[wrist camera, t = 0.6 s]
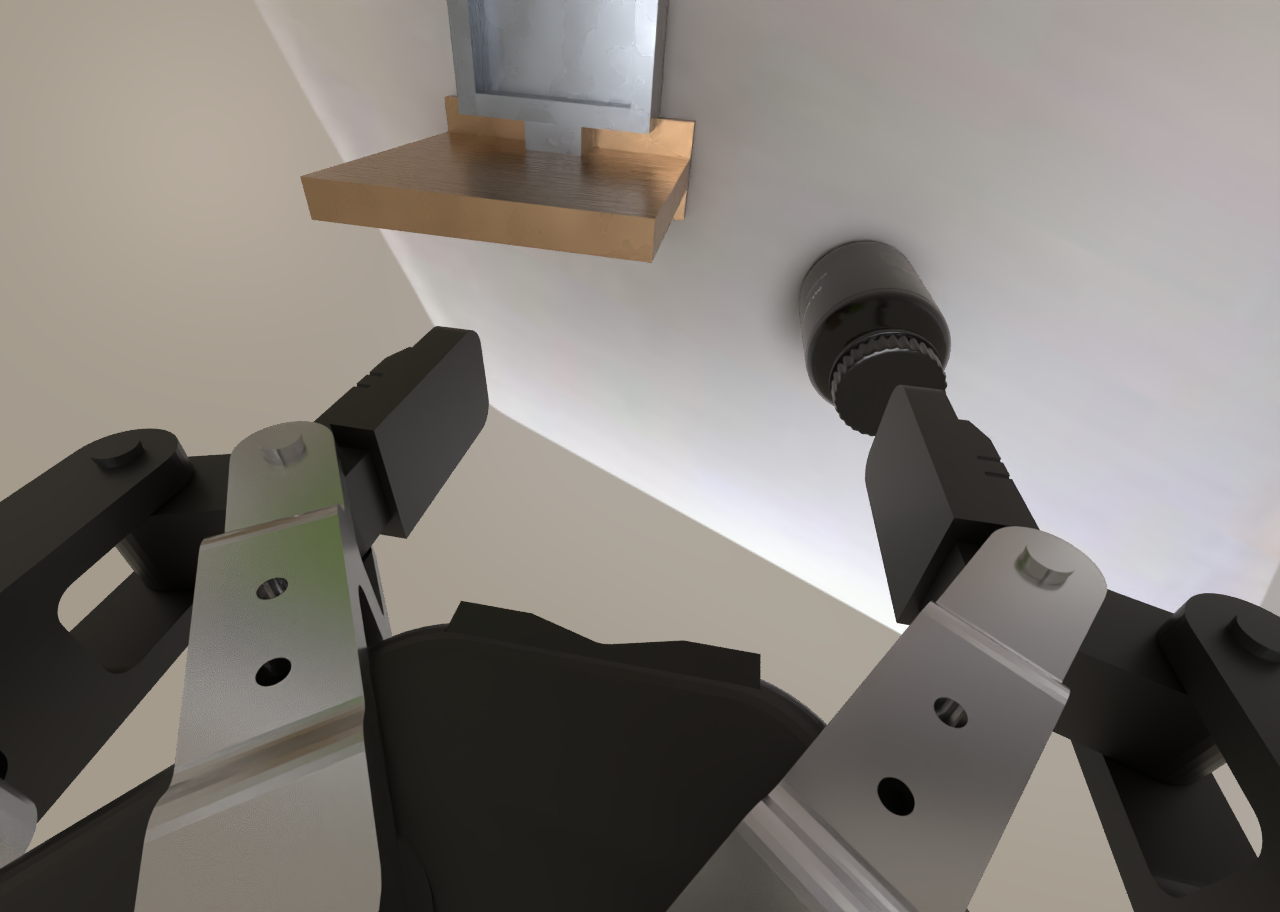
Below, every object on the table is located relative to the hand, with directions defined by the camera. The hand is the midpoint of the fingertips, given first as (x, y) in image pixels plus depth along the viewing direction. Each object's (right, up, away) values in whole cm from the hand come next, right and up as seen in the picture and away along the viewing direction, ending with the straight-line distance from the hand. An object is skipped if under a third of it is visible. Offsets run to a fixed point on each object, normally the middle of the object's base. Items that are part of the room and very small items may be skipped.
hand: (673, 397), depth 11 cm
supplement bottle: (+13, +9, +24) cm, 28 cm away
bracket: (-4, +20, +19) cm, 28 cm away
